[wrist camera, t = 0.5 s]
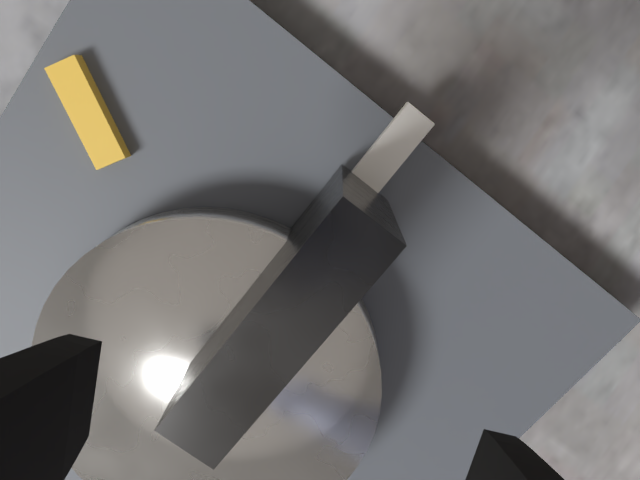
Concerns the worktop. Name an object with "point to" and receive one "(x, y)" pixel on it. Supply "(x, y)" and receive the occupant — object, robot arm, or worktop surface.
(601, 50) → the worktop surface
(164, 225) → the dial
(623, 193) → the worktop surface
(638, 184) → the worktop surface
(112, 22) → the board
